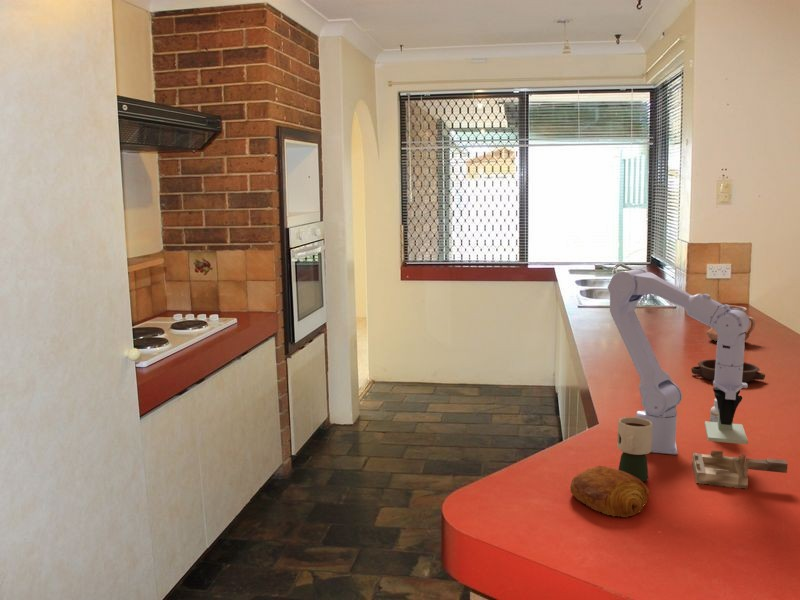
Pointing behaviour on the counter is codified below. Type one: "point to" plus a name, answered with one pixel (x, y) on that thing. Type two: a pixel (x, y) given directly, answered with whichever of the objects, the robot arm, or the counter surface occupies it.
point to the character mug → (634, 445)
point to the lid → (725, 432)
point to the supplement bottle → (714, 412)
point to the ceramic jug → (714, 335)
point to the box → (720, 470)
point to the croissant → (610, 491)
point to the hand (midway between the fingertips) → (725, 421)
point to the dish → (708, 371)
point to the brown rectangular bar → (767, 465)
